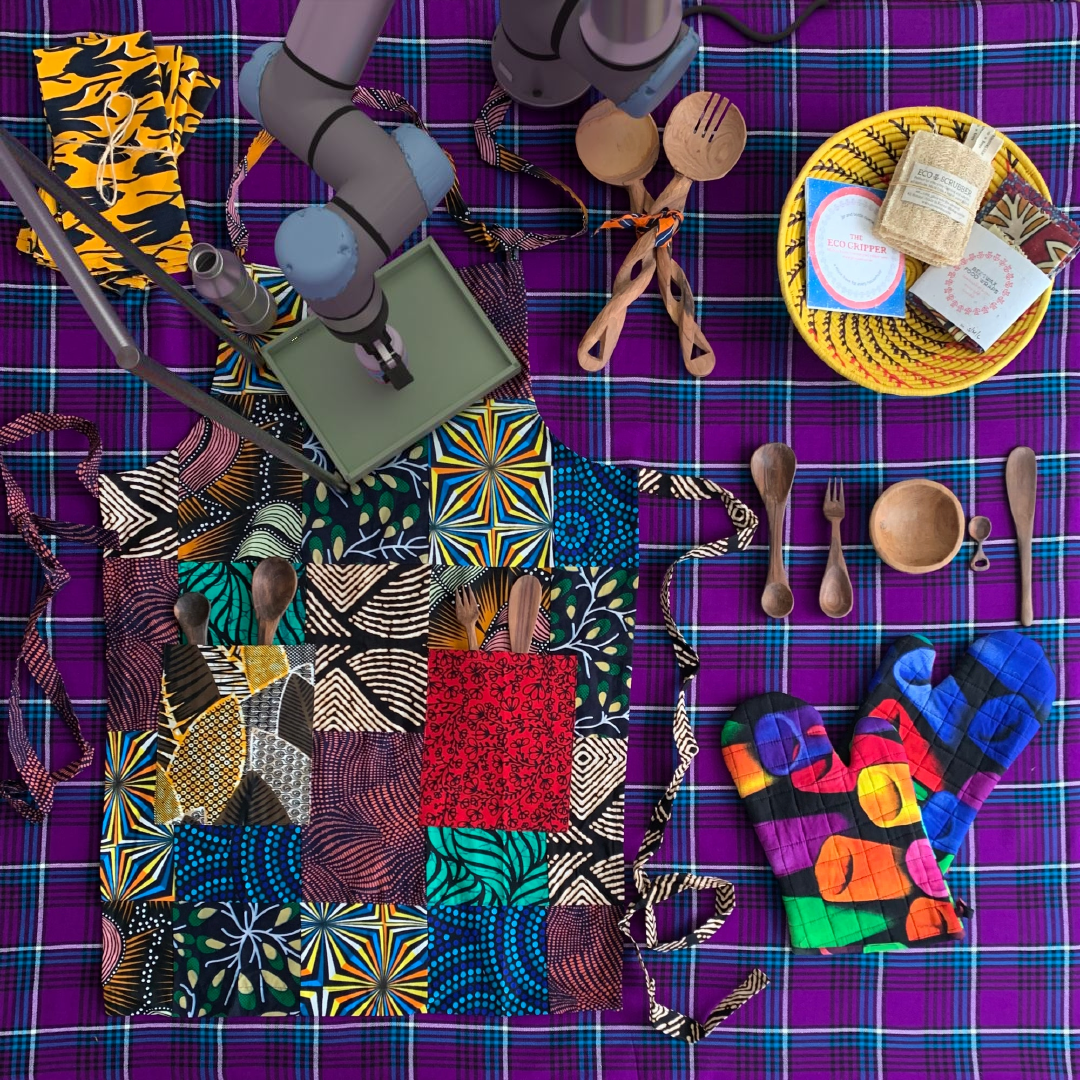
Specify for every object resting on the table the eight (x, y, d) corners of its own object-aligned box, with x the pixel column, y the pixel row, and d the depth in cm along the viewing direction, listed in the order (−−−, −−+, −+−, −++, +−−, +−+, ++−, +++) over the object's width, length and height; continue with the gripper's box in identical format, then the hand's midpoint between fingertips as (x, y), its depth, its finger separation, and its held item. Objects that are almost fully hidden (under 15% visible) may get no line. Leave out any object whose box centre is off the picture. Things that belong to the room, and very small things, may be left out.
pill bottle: (359, 377, 123) (341, 352, 112) (376, 336, 124) (359, 307, 112) (401, 392, 123) (387, 369, 112) (418, 351, 123) (405, 323, 112)
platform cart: (431, 241, 125) (313, -124, 63) (523, 373, 123) (492, 131, 62) (251, 361, 124) (-49, 108, 62) (340, 496, 122) (123, 373, 61)
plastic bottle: (285, 293, 125) (233, 232, 105) (278, 341, 124) (226, 289, 104) (238, 289, 125) (178, 227, 105) (232, 337, 124) (170, 283, 104)
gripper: (272, 248, 99) (325, 317, 122) (367, 391, 98) (403, 433, 121) (329, 210, 99) (372, 286, 122) (425, 352, 98) (450, 401, 121)
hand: (388, 359), depth 121 cm, fingers closed on pill bottle, 6 cm apart
